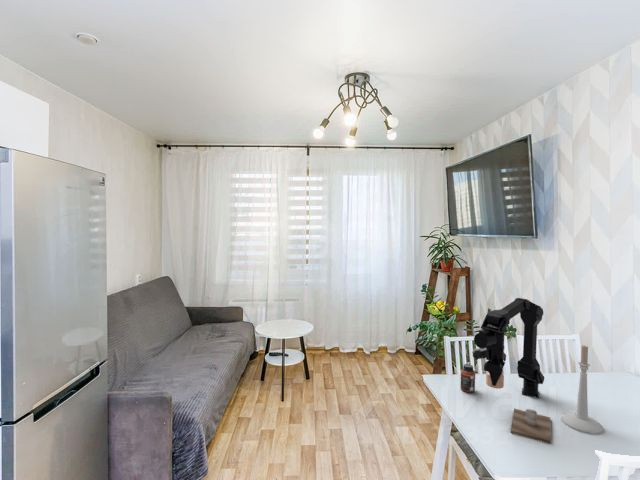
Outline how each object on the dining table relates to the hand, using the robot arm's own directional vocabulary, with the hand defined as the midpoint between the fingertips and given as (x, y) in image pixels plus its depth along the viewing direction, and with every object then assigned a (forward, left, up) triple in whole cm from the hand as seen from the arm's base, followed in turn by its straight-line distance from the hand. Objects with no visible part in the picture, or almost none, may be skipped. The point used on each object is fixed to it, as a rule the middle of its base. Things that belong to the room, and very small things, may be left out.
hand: (494, 382), depth 143 cm
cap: (0, 0, -1) cm, 1 cm away
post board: (+6, +13, -11) cm, 18 cm away
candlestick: (-6, +29, -11) cm, 32 cm away
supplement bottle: (-12, -12, -11) cm, 20 cm away
